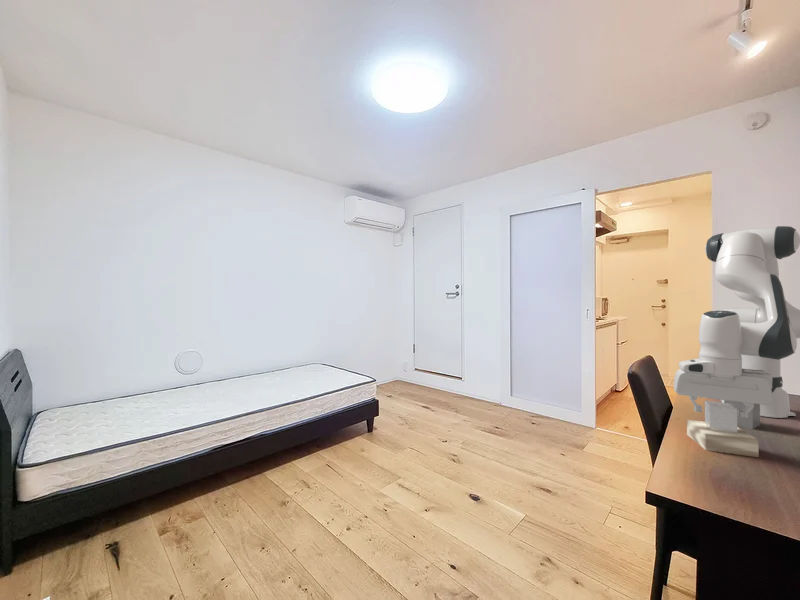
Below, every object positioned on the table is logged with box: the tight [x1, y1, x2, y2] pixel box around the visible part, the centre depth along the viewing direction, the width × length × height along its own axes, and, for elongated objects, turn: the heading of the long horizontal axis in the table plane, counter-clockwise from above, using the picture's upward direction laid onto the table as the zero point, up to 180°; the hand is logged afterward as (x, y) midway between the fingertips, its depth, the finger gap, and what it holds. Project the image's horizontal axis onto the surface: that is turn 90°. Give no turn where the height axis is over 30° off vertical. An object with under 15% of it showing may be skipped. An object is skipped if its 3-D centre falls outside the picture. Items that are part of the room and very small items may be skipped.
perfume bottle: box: [724, 400, 761, 430], centre depth 107 cm, size 7×7×18 cm
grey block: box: [704, 400, 738, 434], centre depth 91 cm, size 6×6×7 cm
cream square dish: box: [686, 419, 760, 458], centre depth 91 cm, size 11×11×5 cm
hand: (719, 414), depth 91 cm, fingers open, 8 cm apart
